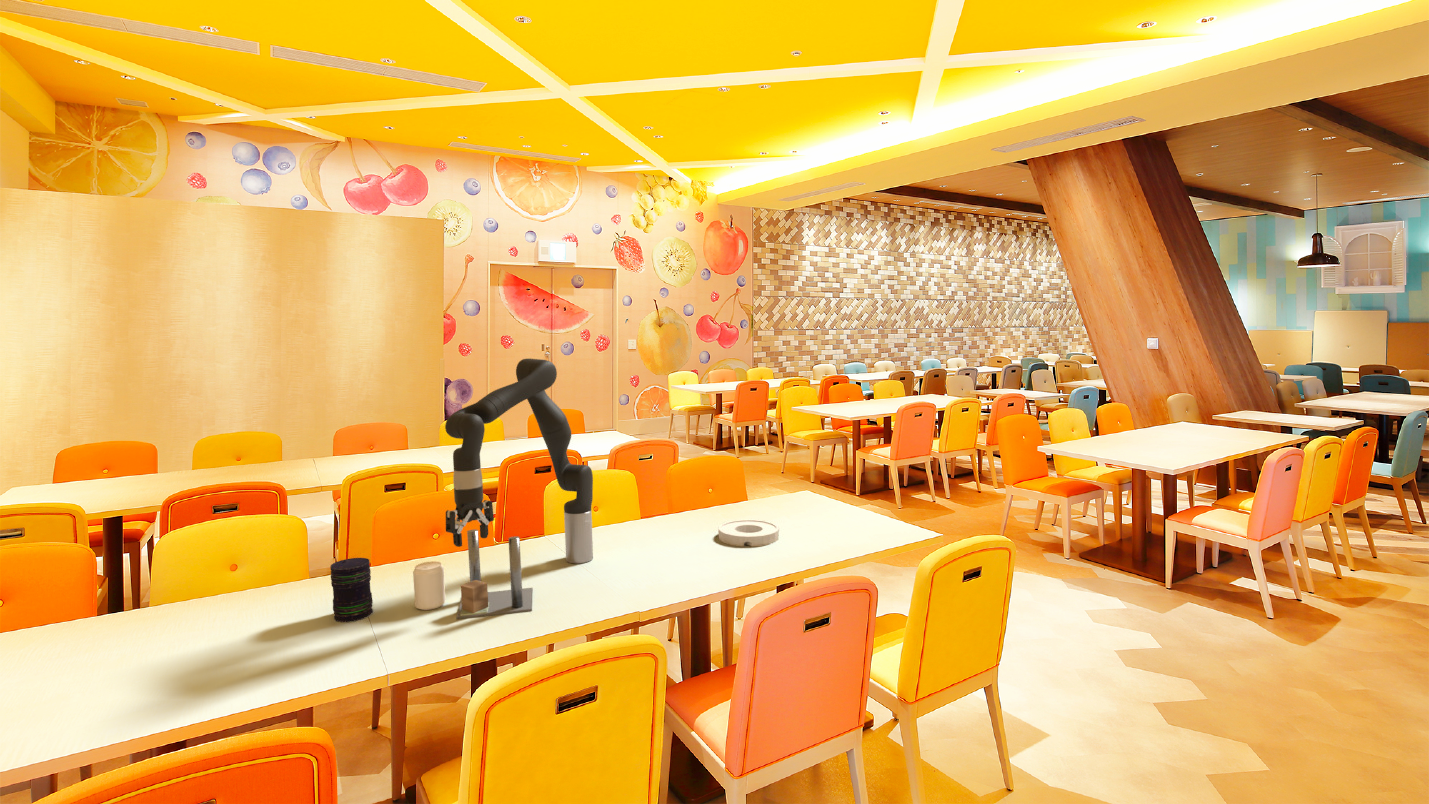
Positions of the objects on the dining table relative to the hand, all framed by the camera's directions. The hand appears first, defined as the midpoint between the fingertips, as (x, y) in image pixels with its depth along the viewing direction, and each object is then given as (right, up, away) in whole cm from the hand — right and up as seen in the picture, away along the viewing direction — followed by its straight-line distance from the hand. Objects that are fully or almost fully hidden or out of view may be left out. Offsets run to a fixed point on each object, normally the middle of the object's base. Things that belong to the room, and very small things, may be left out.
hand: (471, 542), depth 189 cm
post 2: (+12, -19, +4) cm, 23 cm away
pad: (0, -20, +2) cm, 20 cm away
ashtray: (+81, -13, +69) cm, 107 cm away
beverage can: (-14, -20, +7) cm, 26 cm away
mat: (+5, -19, +8) cm, 21 cm away
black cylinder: (-33, -21, +1) cm, 39 cm away
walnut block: (0, -19, +2) cm, 19 cm away
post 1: (-3, -19, +11) cm, 22 cm away
